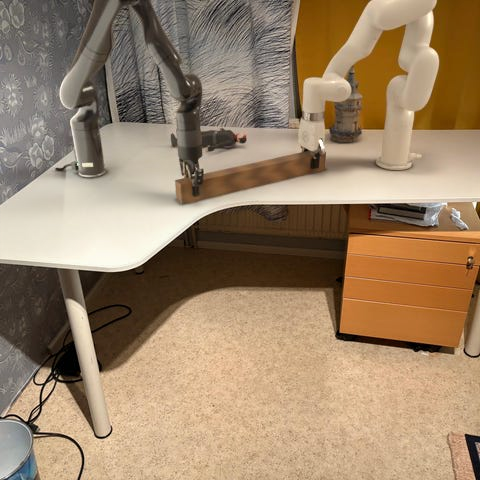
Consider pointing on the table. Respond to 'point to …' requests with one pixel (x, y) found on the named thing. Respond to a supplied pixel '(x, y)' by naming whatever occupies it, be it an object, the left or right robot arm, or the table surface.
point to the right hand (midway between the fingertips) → (310, 165)
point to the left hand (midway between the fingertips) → (192, 192)
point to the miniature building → (348, 114)
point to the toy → (217, 139)
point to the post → (248, 176)
